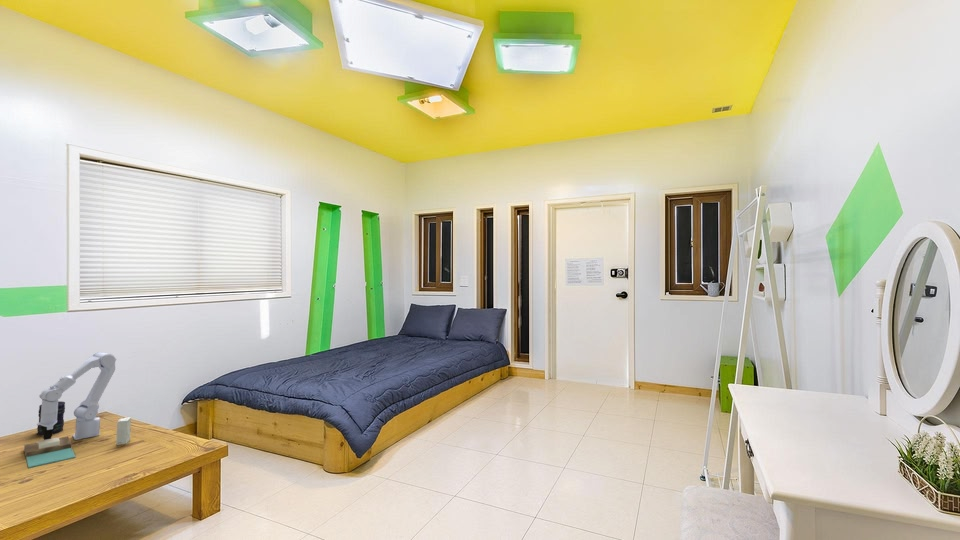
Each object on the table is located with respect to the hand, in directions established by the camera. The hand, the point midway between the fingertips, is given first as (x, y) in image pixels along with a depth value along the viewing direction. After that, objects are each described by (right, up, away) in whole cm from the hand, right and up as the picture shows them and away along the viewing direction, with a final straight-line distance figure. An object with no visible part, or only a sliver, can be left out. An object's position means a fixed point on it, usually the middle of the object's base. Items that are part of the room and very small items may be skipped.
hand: (47, 440), depth 203 cm
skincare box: (+30, -5, +9) cm, 32 cm away
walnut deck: (+3, -3, -3) cm, 6 cm away
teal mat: (+14, -4, -11) cm, 18 cm away
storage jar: (-16, -3, +16) cm, 23 cm away
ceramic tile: (+5, -1, -4) cm, 6 cm away
